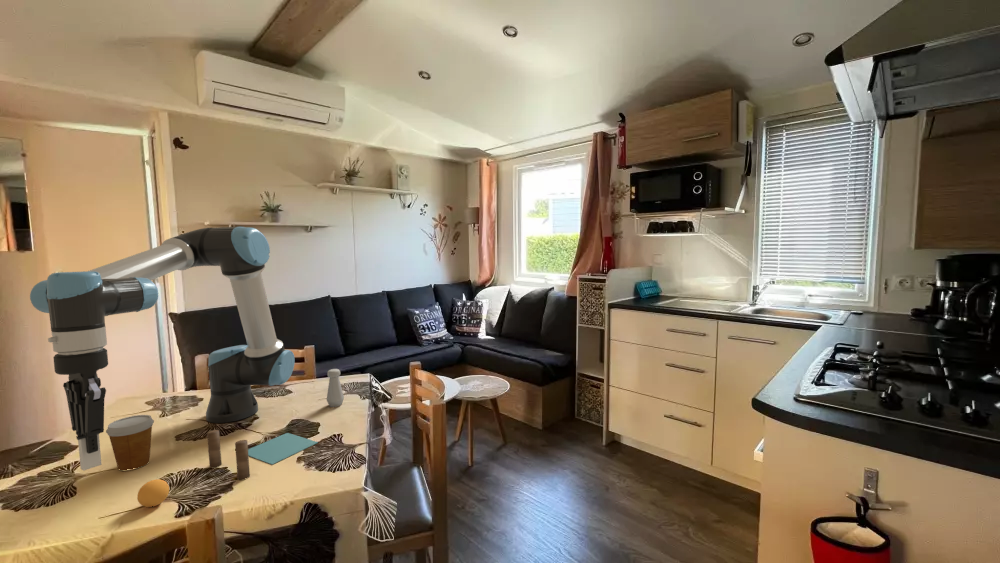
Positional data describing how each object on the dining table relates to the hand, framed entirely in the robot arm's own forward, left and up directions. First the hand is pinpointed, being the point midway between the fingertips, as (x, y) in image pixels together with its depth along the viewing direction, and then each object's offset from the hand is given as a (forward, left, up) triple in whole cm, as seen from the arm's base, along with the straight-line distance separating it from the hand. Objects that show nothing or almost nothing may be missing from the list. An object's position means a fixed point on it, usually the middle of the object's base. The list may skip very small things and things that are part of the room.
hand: (91, 466), depth 85 cm
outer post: (+6, +26, -14) cm, 30 cm away
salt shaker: (-13, +70, -14) cm, 72 cm away
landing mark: (0, +40, -14) cm, 42 cm away
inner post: (-6, +26, -14) cm, 30 cm away
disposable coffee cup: (-26, +16, -14) cm, 33 cm away
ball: (0, +10, -11) cm, 15 cm away
